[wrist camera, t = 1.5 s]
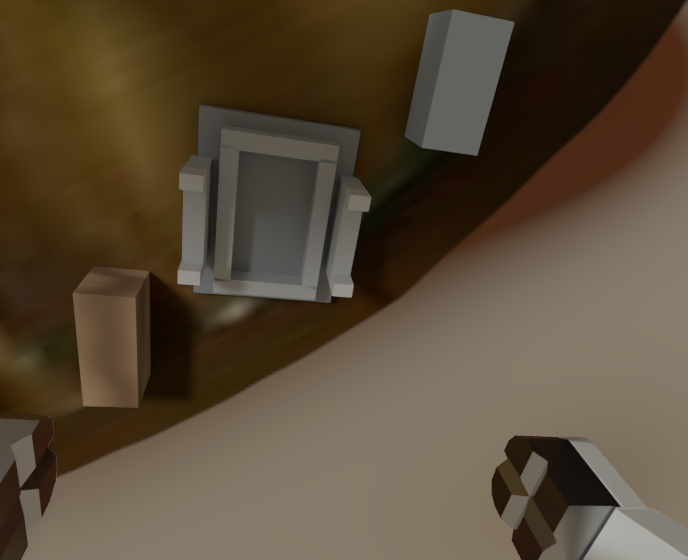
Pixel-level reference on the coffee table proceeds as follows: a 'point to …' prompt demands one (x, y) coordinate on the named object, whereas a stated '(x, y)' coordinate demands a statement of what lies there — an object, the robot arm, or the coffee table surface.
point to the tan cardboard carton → (113, 336)
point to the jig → (270, 207)
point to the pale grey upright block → (457, 80)
